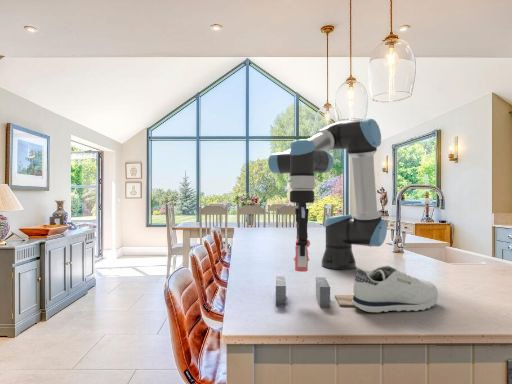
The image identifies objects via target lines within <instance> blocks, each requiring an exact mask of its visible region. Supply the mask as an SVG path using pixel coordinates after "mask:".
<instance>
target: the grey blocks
mask: <svg viewBox="0 0 512 384" xmlns="http://www.w3.org/2000/svg"><path fill="white" fill-rule="evenodd" d="M286 284H287V283H286V276H276V277H275V307H287V305H286V304H287V285H286ZM315 297H316V300H317V303H318V305H319V308H331V286H330V284H329V282H328V280H327V278H326V277H323V276H319V277H318V276H317V277H316V276H315Z"/></svg>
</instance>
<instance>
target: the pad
mask: <svg viewBox="0 0 512 384" xmlns="http://www.w3.org/2000/svg"><path fill="white" fill-rule="evenodd" d="M353 297H354V294H353V295H351V294H348V295H347V294H343V295H342V294H334V298H335V300H336V302H337V303H338V306H339V307H341V308H342V307H344V308H357V307H356V306H355V304H353V303H352V300H353Z"/></svg>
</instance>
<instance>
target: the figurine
mask: <svg viewBox="0 0 512 384" xmlns="http://www.w3.org/2000/svg"><path fill="white" fill-rule="evenodd" d="M297 227H298V226H297V225H296V228H297ZM308 236H309V235H308V232H307V241H308V243H307V267H298V245H296V243H298V238H296V241H295V256H294V258H293V261H294V270H295V271H296V272H301V273H302V272H303V273H304V272H308V271H309V268H308V267H309V265H308V264H309V263H308V262H309V261H310V257H309V250H308V248H309V247H310V246H311V242H310V240H309V239H308V238H309V237H308ZM295 271H294V272H295Z"/></svg>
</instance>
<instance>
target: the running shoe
mask: <svg viewBox="0 0 512 384" xmlns="http://www.w3.org/2000/svg"><path fill="white" fill-rule="evenodd" d="M352 289H353V295H354V297H353V300H352V303H353V304H355V306H356V307H355V308H358V309H360V310H362V311H363V312H364V311H365V312H368V313H382V312H384V313H387V312H389V311H390V312H391V311H396V312H401V311H406V312H411V311H414V312H418V311H420V310H421V311H425V310H426V309H429V310H430V309H431V307H434V306H435V304H436V303H437V300H438V288H437V287H436V285H435V284H434V283H432V282H431V281H426V280H422V279H418V278H416V277H412V275H409V274H407V273H405V272H402V271H400V270H398V269H396V268H394V267H392V266H391V265H383V266H379V267H376V268H375V269H374V268H373V270H371V271H370V272H368V271H366V270H365V269H362V268H361V267H359V268H358V270H357V272H356V274H355V278H354V281H353V288H352Z"/></svg>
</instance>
